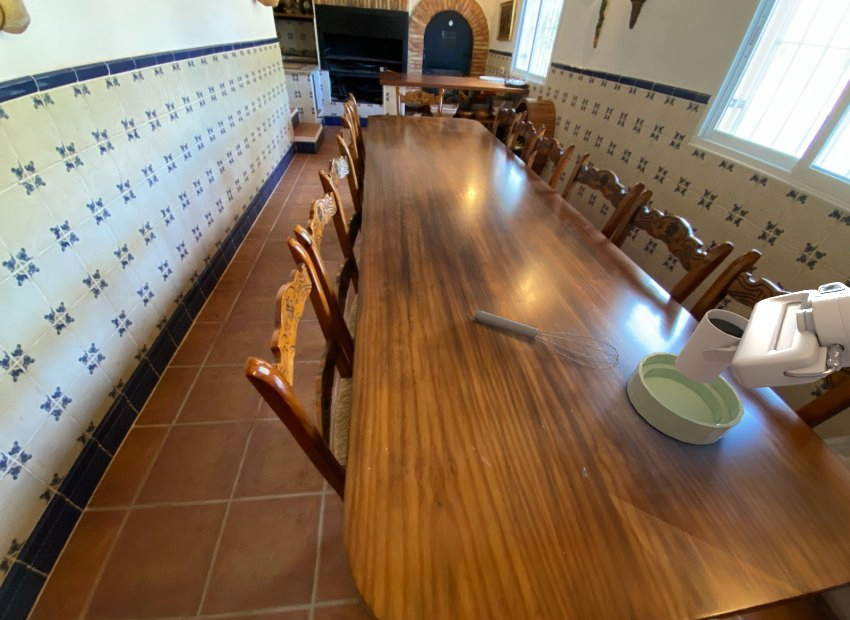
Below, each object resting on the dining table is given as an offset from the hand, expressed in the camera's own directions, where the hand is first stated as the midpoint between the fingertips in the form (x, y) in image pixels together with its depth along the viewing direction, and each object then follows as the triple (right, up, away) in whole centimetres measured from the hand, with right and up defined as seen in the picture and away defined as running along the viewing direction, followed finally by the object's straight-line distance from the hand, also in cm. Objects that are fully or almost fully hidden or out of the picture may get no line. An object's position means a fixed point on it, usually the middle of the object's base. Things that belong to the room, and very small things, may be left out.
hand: (709, 344), depth 55 cm
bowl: (+5, -13, +15) cm, 21 cm away
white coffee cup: (0, -5, +3) cm, 6 cm away
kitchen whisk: (-19, -3, +26) cm, 32 cm away
